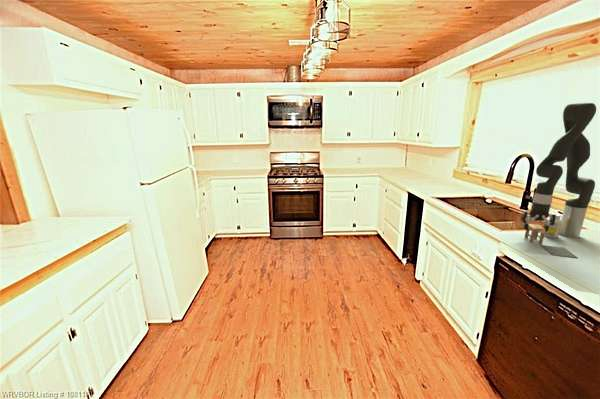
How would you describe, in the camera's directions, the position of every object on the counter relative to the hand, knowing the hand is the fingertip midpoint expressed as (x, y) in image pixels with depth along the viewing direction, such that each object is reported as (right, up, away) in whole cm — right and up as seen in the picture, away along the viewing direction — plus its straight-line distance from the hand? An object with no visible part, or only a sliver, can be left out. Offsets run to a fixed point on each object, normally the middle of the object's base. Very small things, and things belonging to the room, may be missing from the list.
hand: (535, 230), depth 157 cm
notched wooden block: (0, -5, +2) cm, 6 cm away
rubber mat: (+2, -9, -12) cm, 15 cm away
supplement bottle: (+15, -4, +8) cm, 18 cm away
